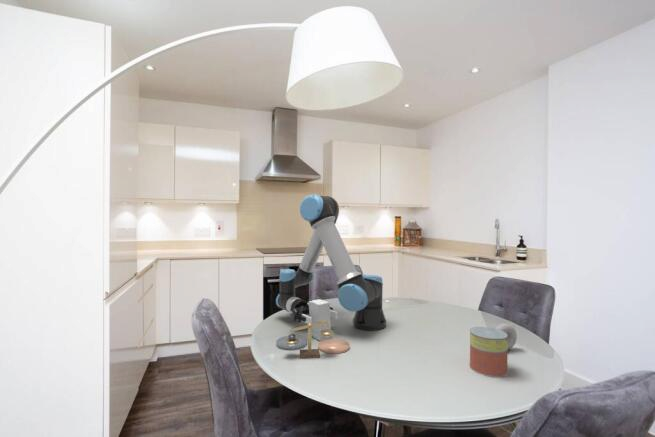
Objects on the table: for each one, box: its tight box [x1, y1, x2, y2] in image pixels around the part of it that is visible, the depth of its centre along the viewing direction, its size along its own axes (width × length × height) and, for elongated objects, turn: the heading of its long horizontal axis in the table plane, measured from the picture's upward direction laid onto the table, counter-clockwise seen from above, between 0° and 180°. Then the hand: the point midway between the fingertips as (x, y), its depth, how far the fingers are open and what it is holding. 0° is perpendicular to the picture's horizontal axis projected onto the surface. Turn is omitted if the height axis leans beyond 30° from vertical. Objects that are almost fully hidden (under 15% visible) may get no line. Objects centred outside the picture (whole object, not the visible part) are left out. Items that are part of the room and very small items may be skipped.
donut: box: [494, 322, 518, 351], centre depth 125 cm, size 10×4×10 cm, turn 105°
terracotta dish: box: [317, 337, 350, 355], centre depth 127 cm, size 12×12×1 cm
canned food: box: [469, 326, 509, 378], centre depth 109 cm, size 11×11×12 cm
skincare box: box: [308, 298, 332, 342], centre depth 138 cm, size 8×6×15 cm
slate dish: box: [275, 335, 308, 351], centre depth 130 cm, size 12×12×1 cm
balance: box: [285, 320, 335, 360], centre depth 120 cm, size 18×5×12 cm, turn 96°
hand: (324, 318), depth 135 cm, fingers open, 12 cm apart
